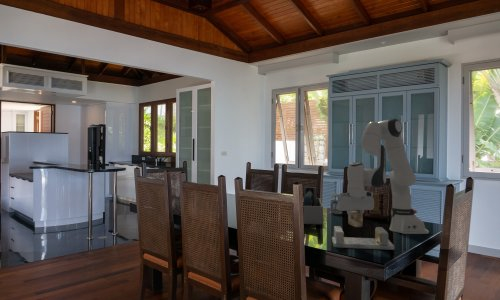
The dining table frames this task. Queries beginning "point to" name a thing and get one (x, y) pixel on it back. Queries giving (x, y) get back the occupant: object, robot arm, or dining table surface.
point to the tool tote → (313, 213)
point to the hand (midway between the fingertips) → (355, 218)
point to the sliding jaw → (381, 235)
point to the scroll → (376, 207)
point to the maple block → (356, 219)
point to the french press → (334, 203)
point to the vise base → (357, 241)
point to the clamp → (309, 196)
